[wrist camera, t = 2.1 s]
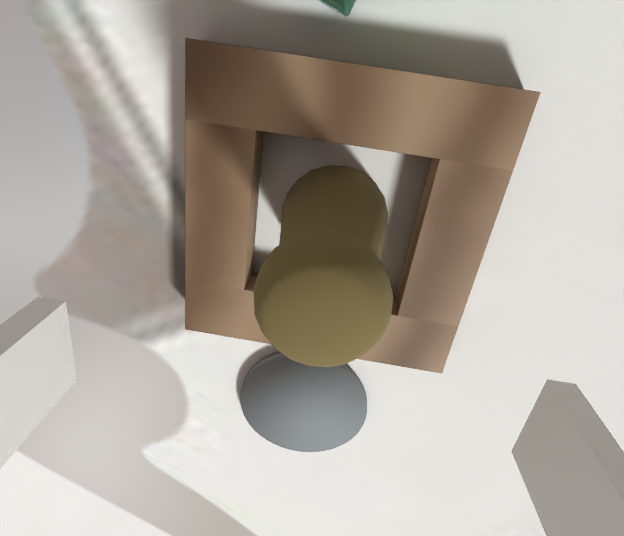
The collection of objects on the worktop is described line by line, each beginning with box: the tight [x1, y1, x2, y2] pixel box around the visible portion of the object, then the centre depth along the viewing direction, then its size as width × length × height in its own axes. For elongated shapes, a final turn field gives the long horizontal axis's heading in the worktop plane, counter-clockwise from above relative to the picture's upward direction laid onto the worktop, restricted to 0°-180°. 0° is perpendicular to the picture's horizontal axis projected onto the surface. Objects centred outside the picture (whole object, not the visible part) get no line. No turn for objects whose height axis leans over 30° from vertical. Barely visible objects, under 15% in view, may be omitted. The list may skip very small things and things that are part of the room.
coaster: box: [241, 352, 367, 452], centre depth 30 cm, size 9×9×1 cm
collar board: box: [185, 38, 540, 373], centre depth 23 cm, size 16×16×2 cm
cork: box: [253, 166, 393, 367], centre depth 19 cm, size 6×6×11 cm
